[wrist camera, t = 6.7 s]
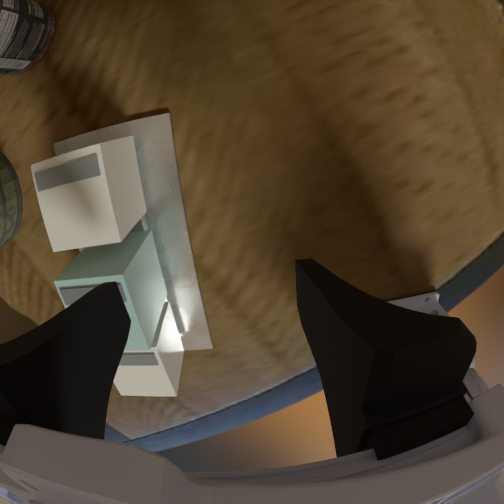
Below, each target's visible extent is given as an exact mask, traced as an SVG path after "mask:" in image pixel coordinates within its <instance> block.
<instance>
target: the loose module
mask: <svg viewBox="0 0 504 504" xmlns="http://www.w3.org/2000/svg"><path fill="white" fill-rule="evenodd" d="M114 281H116V282H117V285H118V287H119V290H120V293H121V296H122V298H123V301H124V304H125V306H126V309H127V311H128V314H129V317H130V319H131V326H130V331H129V336H128V340H127V343H126V346H125V349H124V351H129V350H150V348H151V345H152V342H153V338H154V335H155V331H156V328H157V325H158V322H159V318H160V315H161V312H162V309H163V306H164V303H165V299H166V296H167V290H166V286H165V283H164V279H163V275H162V271H161V267H160V263H159V259H158V255H157V251H156V247H155V242H154V238H153V234H152V230H145V231H137V232H130V233H128V234H127V236H126V237H125V238H124V239H123V241H122V242H119V243H112V244H105V245H98V246H91V247H85V248H84V249H83V250H82V251H81V252H80V253H79V254H78V255H77V256H76V257H75V258H74V259H73V260H72V261H71V262H70V264H69V265H68V266H67V267H66V268H65V269H64V270H63V271H62V272H61V273H60V275H59V276H58V277H57V278H56V279H55V280H54V283H55V286H56V288H57V290H58V293H59V295H60V298H61V300H62V302H63V304H64V307H65V308H67V307H68V306H70V305H71V304H72V303H74V302H75V301H76V300H78V299H79V298H81V297H82V296H83V295H85V294H86V293H88V292H89V291H90V290H92V289H93V288H95V287H97V286H98V285H100V284H102V283H104V282H114Z"/></svg>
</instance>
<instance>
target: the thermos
mask: <svg viewBox="0 0 504 504" xmlns="http://www.w3.org/2000/svg"><path fill="white" fill-rule="evenodd" d="M22 210H23V208H22V193H21V189H20V185H19V181H18V177H17V175H16V173H15V171H14V169H13V167H12V165H11V164H10V162H9V161H8V160H7V159H6V158H5V157H4V155H2V154H0V246H1V245H2V244H5V243H6V242H8V241H9V240H10V239H11V238H12V237H13V236H14V235H15V234H16V232H17V230H18V227H19V225H20V223H21V216H22Z"/></svg>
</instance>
